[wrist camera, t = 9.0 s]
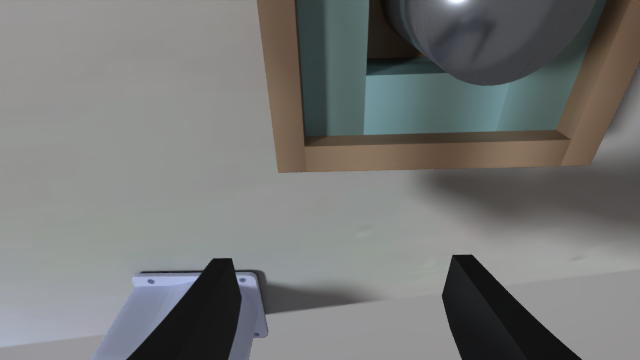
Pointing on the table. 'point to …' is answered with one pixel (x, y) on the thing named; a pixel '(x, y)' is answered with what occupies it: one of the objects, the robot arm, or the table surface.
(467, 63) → the peg
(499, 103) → the bore box
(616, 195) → the table surface
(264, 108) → the table surface
